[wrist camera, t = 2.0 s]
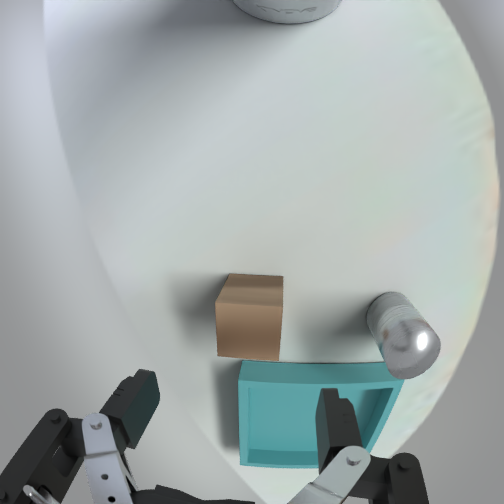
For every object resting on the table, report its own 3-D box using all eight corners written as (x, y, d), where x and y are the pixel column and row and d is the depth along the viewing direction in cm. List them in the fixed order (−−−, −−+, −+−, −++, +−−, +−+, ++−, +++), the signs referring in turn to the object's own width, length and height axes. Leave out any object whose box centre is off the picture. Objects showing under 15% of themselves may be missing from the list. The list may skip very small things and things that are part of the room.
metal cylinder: (371, 291, 21) (396, 331, 15) (414, 292, 20) (447, 328, 15) (362, 335, 22) (380, 381, 16) (404, 334, 21) (429, 376, 16)
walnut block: (229, 273, 22) (215, 302, 17) (283, 276, 21) (282, 306, 16) (230, 319, 23) (217, 356, 18) (280, 323, 22) (278, 360, 18)
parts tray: (242, 360, 24) (238, 380, 21) (395, 361, 22) (404, 379, 20) (243, 447, 28) (240, 465, 25) (359, 448, 26) (362, 464, 24)
